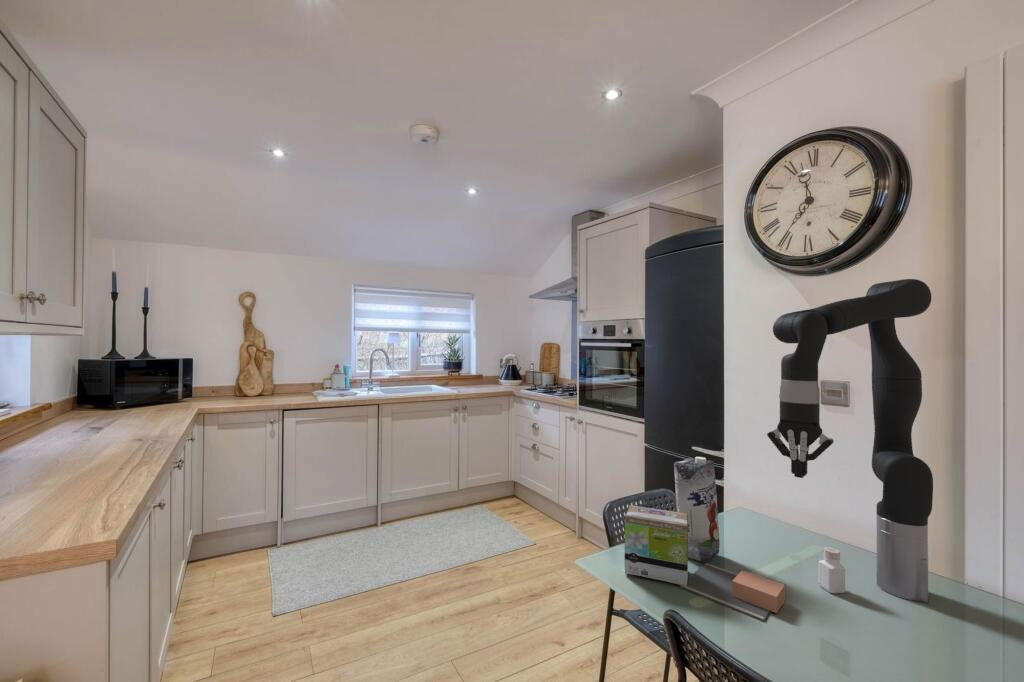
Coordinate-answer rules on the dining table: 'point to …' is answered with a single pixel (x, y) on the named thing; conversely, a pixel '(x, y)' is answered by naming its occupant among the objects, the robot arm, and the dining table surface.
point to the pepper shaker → (832, 571)
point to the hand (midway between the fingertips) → (799, 476)
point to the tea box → (656, 544)
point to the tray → (721, 590)
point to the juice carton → (698, 506)
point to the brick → (758, 591)
